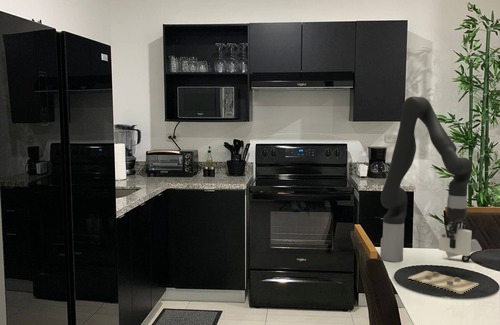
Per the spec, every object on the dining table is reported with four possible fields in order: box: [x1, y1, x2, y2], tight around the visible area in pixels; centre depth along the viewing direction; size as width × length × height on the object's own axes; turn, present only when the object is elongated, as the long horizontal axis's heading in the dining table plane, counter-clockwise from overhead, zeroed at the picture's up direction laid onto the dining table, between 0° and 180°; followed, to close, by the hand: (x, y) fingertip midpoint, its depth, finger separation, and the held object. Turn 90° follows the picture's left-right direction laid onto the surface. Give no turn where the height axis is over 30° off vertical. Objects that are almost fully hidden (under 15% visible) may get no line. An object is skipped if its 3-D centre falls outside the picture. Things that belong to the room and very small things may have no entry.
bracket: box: [445, 238, 483, 263], centre depth 229 cm, size 4×10×15 cm
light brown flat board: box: [407, 270, 480, 295], centre depth 198 cm, size 22×14×2 cm, turn 41°
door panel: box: [438, 225, 473, 256], centre depth 207 cm, size 12×4×10 cm, turn 41°
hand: (454, 247), depth 207 cm, fingers closed on door panel, 3 cm apart
